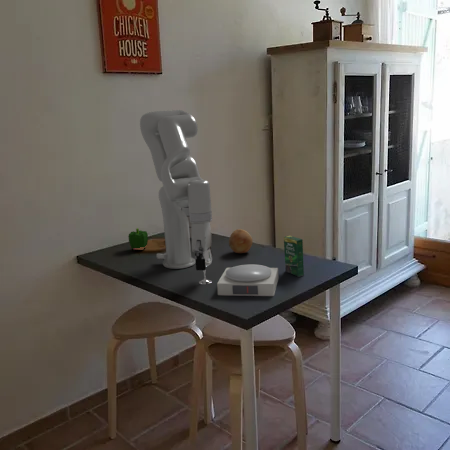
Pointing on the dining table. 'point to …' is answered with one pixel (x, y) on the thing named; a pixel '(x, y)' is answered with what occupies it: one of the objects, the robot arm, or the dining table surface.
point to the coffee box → (294, 255)
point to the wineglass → (207, 262)
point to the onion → (240, 241)
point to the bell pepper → (138, 239)
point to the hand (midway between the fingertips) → (204, 265)
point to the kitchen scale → (248, 281)
